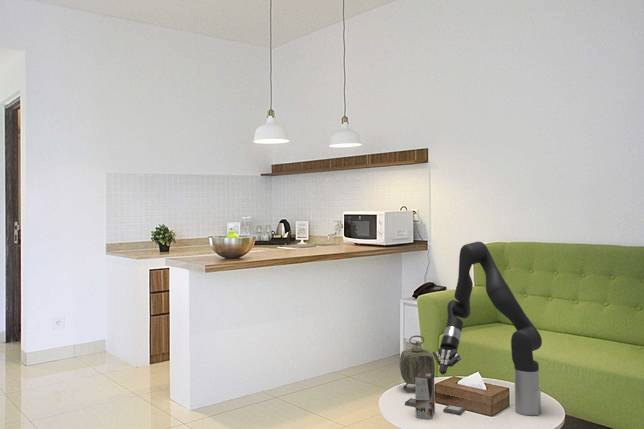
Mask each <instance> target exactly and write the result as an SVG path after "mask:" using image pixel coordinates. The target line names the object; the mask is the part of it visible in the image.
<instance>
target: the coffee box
mask: <svg viewBox="0 0 644 429" xmlns="http://www.w3.org/2000/svg"><path fill="white" fill-rule="evenodd" d="M414 386H415V395H414V396H415V398H414V399H416V407H415V418H417V419H425V420H432V419H433V416H434V414H435V413H436V406H435V405H436V401H435V372H434V373H432V372H419V373H418V374H417V376H416V377H415V385H414Z"/></svg>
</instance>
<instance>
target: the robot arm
mask: <svg viewBox="0 0 644 429" xmlns="http://www.w3.org/2000/svg"><path fill="white" fill-rule="evenodd" d="M458 258H459V260H458V278H457V282H456V287H455V291H454V296H453V297H454V299H455V300H454V299H452V300H450V301H449V302H448V304H447V308H446V309H447V322H446V326H445V328H444V331H443V334H442V338H441V342H440V346H439V348H438V350H437V351H433V352H432V356H433V358H434V360H435V361H436V363H437V364H438V366H439V368H438V369H439V370H438V371H439V374H440V375H445V374H447V371H448V368H449V367H451V368H452V367H454V366H455V365H456V364H457V363H458V362H460V361H461V359H462V357H461V356H460V354H459V353H458V349H459V345H460V341H461V336H462V331H463V326H464V323H463V320H462V319H467V318H469V317H470V315H471V303H470V302H471V301H470V300H471V296H472V292H473V287H474V286H473V285H474V284H473V283H474V282H473V280H472V277H471V275H470V273H471V268H472V266H473V265H476V264H480V266H481V267H482V269H483V272H484V275H485V291H486V294H487V296H488V298H489V300H490V302H491V303H492V304H493V306H494V308H496V310H498V312H500V314H502V315H504V317H506V318H507V319H508V320H509V321H510V322H511V323H512V325H513V326H514V328H515V330H516V331H514V332H513V333H512V335H511V339H510V346H511V349H510V351H511V360H512V362H513V365H514V366H513V368H514V406H515V408H514V409H515V412H516V413H517V414H520V415H524V416H539V415H540V413H541V412H542V401H541V397H542V396H541V387H540V378H539V377H540V370H539V369H540V367H539V366H540V364H539V362H537V361H536V360H534V353H533V352H534V351H537V350H539V349H541V347H542V344H543V340H542V336H541V334H540V332H539V330H538V329H537V328H536V326H535V325H534V324H533V323H532V321H531V320H530V319H529V317H528V316H527V315H526V313H525V312H524V310H523V308H522V307H521V305H520V303H519V302H518V301H517V298H516V297H515V295H514V294H513V292H512V290H511V289H510V286H509V285H508V284H507V282H506V281H505V279H504V277H503V275H502V274H501V272H500V271H499V268H498V267H497V265H496V263H495V260H494V258H493V256H492V254H491V252H490V249H489V248H488V247H487V246H486V244H485V243H484V242H482V241H475V242H469V243H466V244H464V245H462V246H461V248H460V250H459V257H458ZM439 357H440V359H439Z"/></svg>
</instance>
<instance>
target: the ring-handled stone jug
mask: <svg viewBox="0 0 644 429" xmlns="http://www.w3.org/2000/svg"><path fill="white" fill-rule="evenodd" d="M413 338H421V339H422V341H421V342H418V341H415V342H411V340H412V339H413ZM408 340H409V343H410V344H411V345H413V346H412V347H411V349H405V350H402V351H401V353H400V358H399V369H400V374H401V378H402V379H403V380H404V382H405V384H404V385H403V389H405V390H406V389H407V388H408V385H414V386H415V377H416V376H417V374H418V373H419V372H432V373H434V374H435V370H436V368H435V367H436V366H435V361H434V360H435V358H434V355H433V353H431V352H430V351H429V350H427V349H423V347H422V346H421V345H422V344H424V342H425V338H424V337H423V336H421V335H412V336H410V338H409V339H408Z"/></svg>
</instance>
